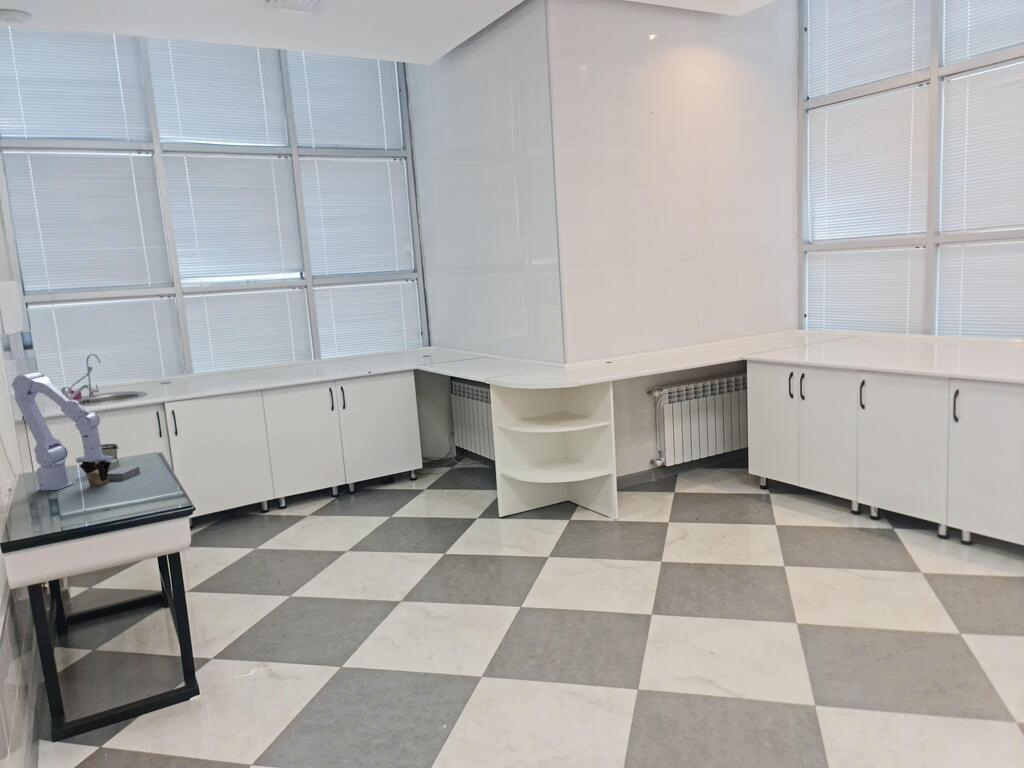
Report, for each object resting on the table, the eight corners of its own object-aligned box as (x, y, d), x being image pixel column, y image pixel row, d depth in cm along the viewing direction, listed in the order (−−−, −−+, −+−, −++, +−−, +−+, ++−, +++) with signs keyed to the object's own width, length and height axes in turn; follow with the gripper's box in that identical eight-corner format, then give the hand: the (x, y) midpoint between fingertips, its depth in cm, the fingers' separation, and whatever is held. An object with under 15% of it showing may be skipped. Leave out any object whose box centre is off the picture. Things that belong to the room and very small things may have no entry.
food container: (118, 465, 298) (114, 441, 297) (122, 467, 294) (117, 443, 292) (85, 472, 291) (80, 448, 289) (88, 475, 286) (83, 450, 284)
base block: (103, 481, 276) (102, 474, 275) (120, 474, 284) (119, 467, 284) (124, 481, 274) (122, 473, 273) (140, 473, 283) (139, 466, 282)
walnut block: (89, 486, 269) (87, 473, 268) (98, 482, 273) (96, 469, 272) (99, 485, 268) (97, 473, 267) (108, 482, 272) (106, 469, 271)
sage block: (102, 475, 284) (100, 463, 283) (110, 471, 288) (108, 459, 288) (112, 475, 283) (110, 462, 282) (120, 471, 287) (118, 459, 287)
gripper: (67, 449, 265) (73, 484, 268) (100, 447, 262) (107, 483, 265) (81, 444, 272) (88, 478, 274) (114, 442, 269) (121, 477, 271)
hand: (98, 480), depth 270 cm, fingers closed on walnut block, 4 cm apart
